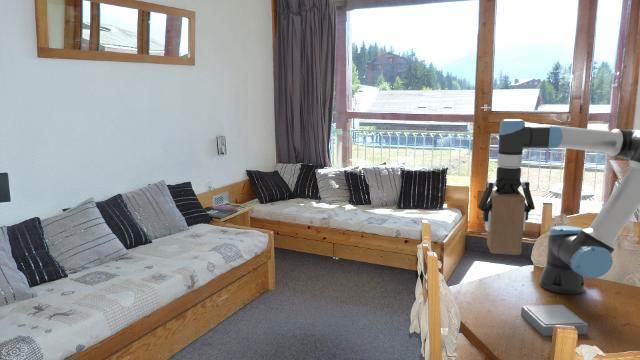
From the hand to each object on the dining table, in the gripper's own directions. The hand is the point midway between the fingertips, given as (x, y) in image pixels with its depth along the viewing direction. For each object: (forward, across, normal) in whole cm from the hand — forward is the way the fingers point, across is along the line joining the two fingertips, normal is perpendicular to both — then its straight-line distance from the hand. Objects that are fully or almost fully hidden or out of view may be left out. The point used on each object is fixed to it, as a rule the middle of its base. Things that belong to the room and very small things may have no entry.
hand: (504, 230), depth 167 cm
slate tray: (+26, -10, +17) cm, 32 cm away
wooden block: (+7, 0, 0) cm, 7 cm away
